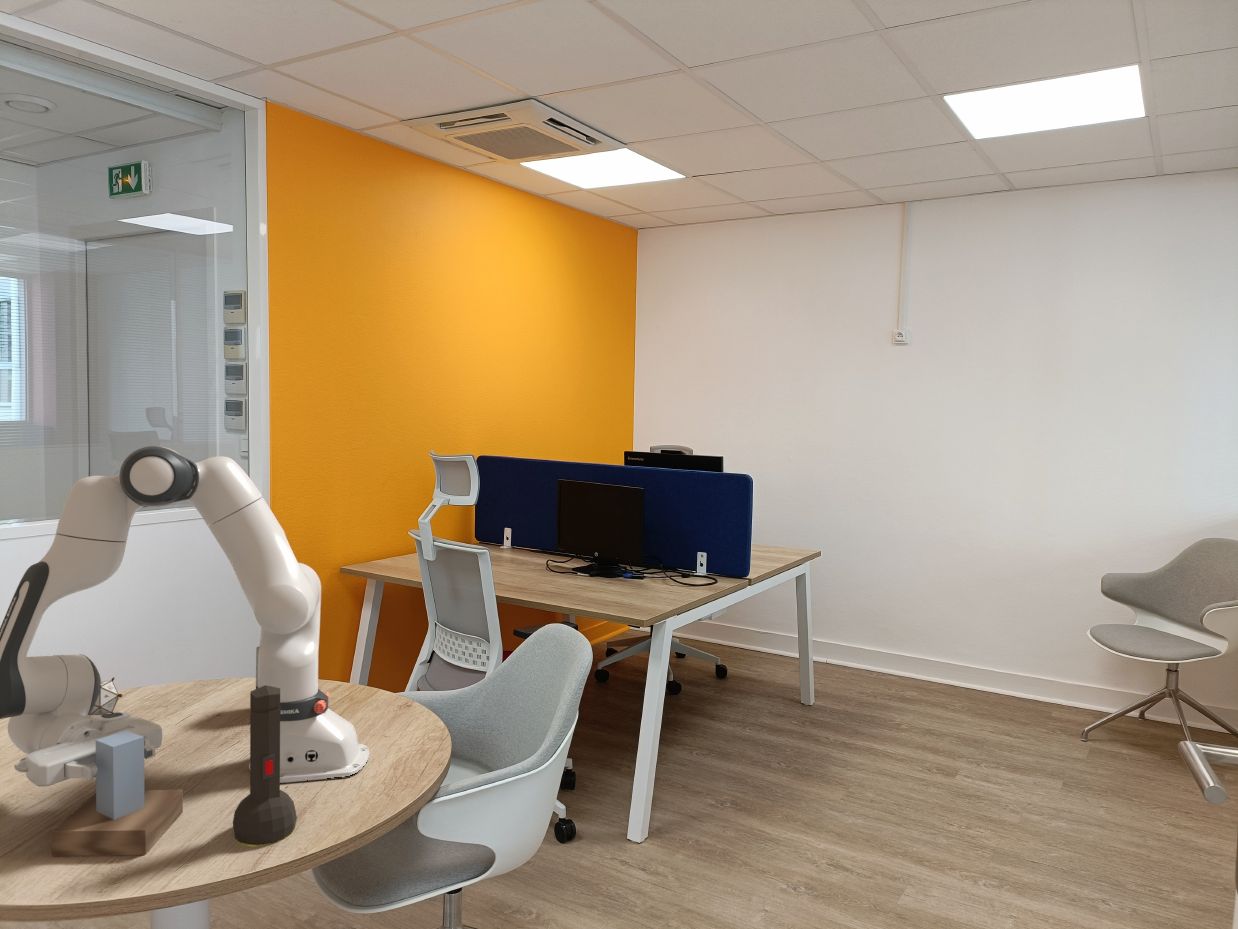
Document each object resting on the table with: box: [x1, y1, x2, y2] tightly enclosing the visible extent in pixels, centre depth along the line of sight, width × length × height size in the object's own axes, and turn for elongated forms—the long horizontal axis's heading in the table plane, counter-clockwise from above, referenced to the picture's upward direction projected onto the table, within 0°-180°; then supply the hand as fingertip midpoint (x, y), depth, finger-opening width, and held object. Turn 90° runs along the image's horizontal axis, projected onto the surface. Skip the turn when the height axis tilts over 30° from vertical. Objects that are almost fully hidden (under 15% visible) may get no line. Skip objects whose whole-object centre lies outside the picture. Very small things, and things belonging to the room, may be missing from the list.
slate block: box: [95, 730, 145, 820], centre depth 140 cm, size 5×5×12 cm
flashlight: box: [232, 685, 298, 846], centre depth 142 cm, size 10×25×10 cm
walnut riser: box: [51, 789, 184, 857], centre depth 141 cm, size 14×14×4 cm
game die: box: [90, 676, 123, 715], centre depth 191 cm, size 9×8×10 cm
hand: (123, 763), depth 140 cm, fingers open, 8 cm apart
